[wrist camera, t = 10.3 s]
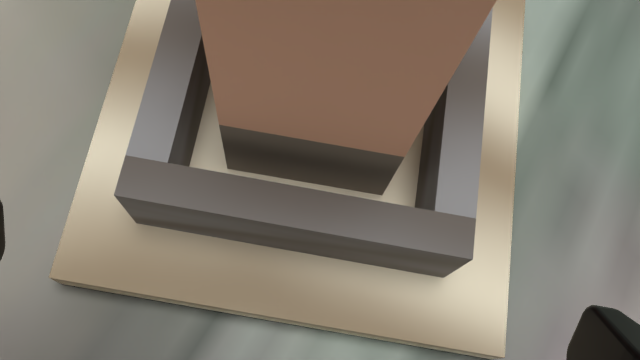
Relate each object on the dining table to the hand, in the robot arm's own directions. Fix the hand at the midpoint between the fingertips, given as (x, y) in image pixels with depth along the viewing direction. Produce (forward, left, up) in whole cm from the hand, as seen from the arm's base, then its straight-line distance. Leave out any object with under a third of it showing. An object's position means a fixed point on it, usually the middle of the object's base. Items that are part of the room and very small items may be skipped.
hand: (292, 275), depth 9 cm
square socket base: (+5, +4, -8) cm, 10 cm away
